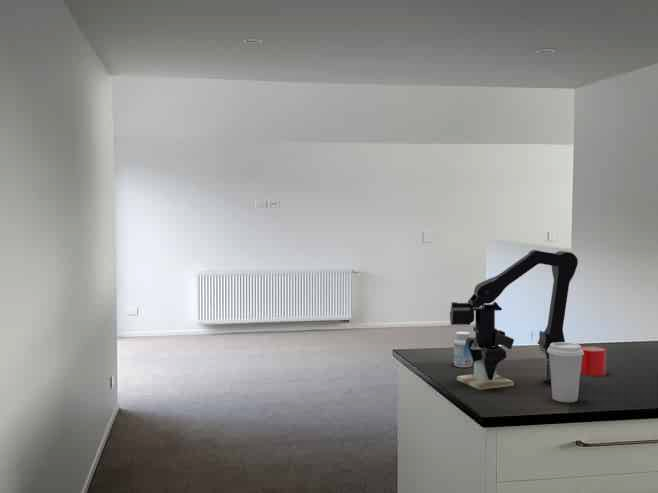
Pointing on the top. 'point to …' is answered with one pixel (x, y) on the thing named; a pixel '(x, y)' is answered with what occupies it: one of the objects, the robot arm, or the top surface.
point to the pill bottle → (462, 350)
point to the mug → (593, 361)
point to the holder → (485, 382)
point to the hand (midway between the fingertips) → (485, 376)
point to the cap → (481, 372)
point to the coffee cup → (565, 370)
